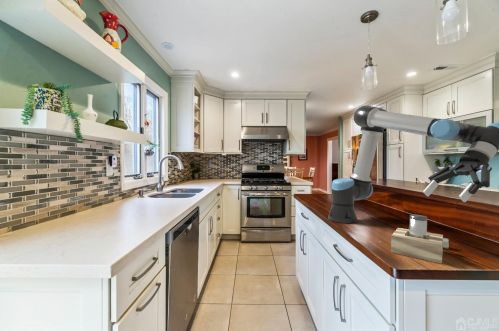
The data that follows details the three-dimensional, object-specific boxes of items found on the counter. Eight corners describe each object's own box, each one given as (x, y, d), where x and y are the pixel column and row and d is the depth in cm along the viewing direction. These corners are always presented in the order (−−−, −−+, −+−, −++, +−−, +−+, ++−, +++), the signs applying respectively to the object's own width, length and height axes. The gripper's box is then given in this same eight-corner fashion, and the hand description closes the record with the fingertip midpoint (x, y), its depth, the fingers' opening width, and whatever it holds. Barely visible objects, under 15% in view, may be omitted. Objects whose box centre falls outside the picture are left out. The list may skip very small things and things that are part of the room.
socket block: (397, 242, 93) (397, 227, 93) (442, 251, 84) (442, 234, 84) (391, 252, 82) (391, 235, 82) (441, 263, 73) (442, 245, 73)
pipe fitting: (423, 242, 95) (421, 244, 91) (424, 232, 96) (421, 234, 91) (449, 247, 90) (447, 250, 85) (449, 237, 90) (448, 239, 85)
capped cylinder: (410, 245, 86) (411, 213, 86) (426, 248, 83) (427, 216, 83) (408, 249, 83) (408, 216, 82) (425, 252, 79) (426, 218, 79)
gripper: (527, 163, 75) (488, 210, 72) (449, 163, 99) (418, 198, 97) (514, 146, 74) (474, 193, 72) (439, 151, 98) (407, 186, 96)
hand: (442, 196), depth 84 cm, fingers open, 13 cm apart
